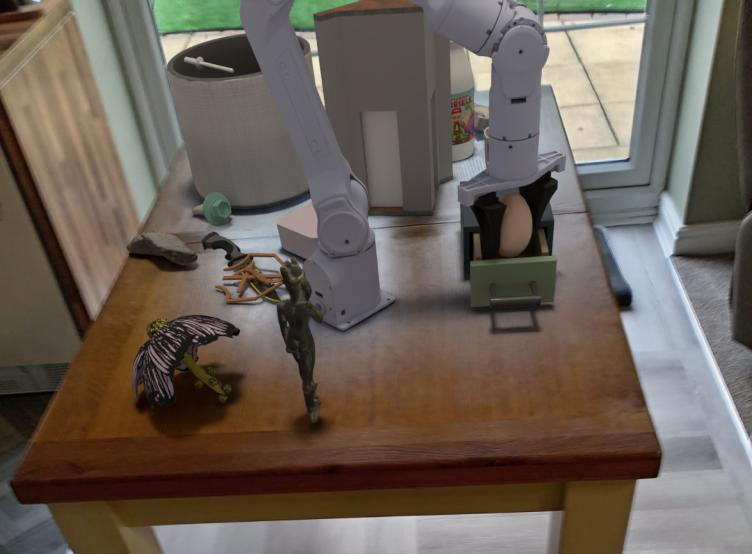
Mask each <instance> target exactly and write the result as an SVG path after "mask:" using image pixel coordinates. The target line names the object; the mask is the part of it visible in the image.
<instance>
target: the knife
mask: <svg viewBox="0 0 752 554" xmlns="http://www.w3.org/2000/svg"><path fill="white" fill-rule="evenodd" d="M201 244H202V248H203V251H206V250H209V249H211V250H214V251H216V250H223V251H225V252H226V254H225V255H224V259H225V260H226V261H227V264H226V265H227V268H228V267H231V266H234V265H236V264H238V263H239V262H241V261H242V260H243V259H245V258H246V257H247V255H248V254H249V253H244V252H242V251H241V248H240V247H239V246H238V245H237V244H236V243H235V242H233V241H232V240H231V239H229V238H227V237H225V236H222V235H220V234H219V233H218V232H217V231H215V230H213V231H211V232H209V233H207V234H206V235H205V236H204V237H203V238H202V239H201ZM253 260H254V257H250V259H249V260H248V261H247V262H246V263H245V264H243V265H242V266H240V267H238V268H236V269H235V270H236V271H239V270H241V269H243V268H245V267H248V266H249V264H250V262H253ZM253 269H254V270H255V271H256V272H257V273H258V274H260V275H263V272H262V271H261V270H260V268H258V266H256V264H254V267H253ZM245 272H246V271H244V272H241V273H240V274H241V275H244V274H245ZM250 275H253V274H252V273H250ZM247 282H248V283H249V284H250V285H251V286H252V287H253V288H254V289H255V291H256V292H258V293H259V294H261V293H262V292H264V291H266V290H267V289H269V288H271V287H272V286H274V285H276V283H265V282H263V281H260V280H259V279H251V280H247ZM262 298H265V299H268V300H269V301H272V302H276V303H277V302H278V303H279V302H280V301H282V299H281V298H280V296H279V294H278V293H277V289H275V290H273V291H271V292H270V293H268V294H266V295H265V296H263V297H262Z"/></svg>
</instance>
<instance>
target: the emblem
mask: <svg viewBox="0 0 752 554" xmlns="http://www.w3.org/2000/svg"><path fill="white" fill-rule="evenodd" d="M247 254H248V255H247V257H246V258H245V259H243V260H242V261H241V262H239V263H238V264H236V265H234V266H231V267H228V266H227V267H225V268H222V271H223V272H229V271H234V270H236V268H238V267H240V266H242V265H243V264H245V263H246V262H247V261H248V260H249V259H250V257H253V258H274V259H275V260H276V261H277V262H278V264H280V266H283V262H284V261H283V259H281V258H280V257H279V256H278V255H277V254H276V253H274V252H273V253H269V252H268V253H267V252H248V253H247ZM255 263H256V262H255V261H252V262H250V264H249V266H248V267H245V268H243V269H241V270H239V271H238V270H236V271H235V273H232V274H231V275H223V276H222V277H221V280H222V281H240V283H239V285H238V287H237V289H236V294H242V292H243V290H244V288H245V286H246V284H247V282H248V280H251V279H259V280H260V281H263V282H265V283H271V284H275V285H274V286H272V287H271V288H269V289H267V290H266V291H264V292H262V293H261V294H260V293H259V294H257V295H255V296H248V297H240V298H239V297H237V298H231V297H232V295H231V292H230V291H229V289H228V288H227V287H226V286H224V285H220V284H217V285H216V284H215V285H214V288H215V289H217V290H221V291H222V292H224V293H225V296H226V299H225V303H226V304H235V303H247V302H257V301H258V300H260V299H261V298H264V297H263V296H265V295H266V294H268V293H270V292H271V291H273V290H277V289H278V288H281V286H284V284H283V282H282V281H281V276H282V275H281V273H270V274H268V273H267V274H266V273H265V274H263V273H262V274H263V275H260V274H258V273H257V272H256V271H255V270H254V269H253V267H254V265H256V264H255ZM244 271H246V272H245V274H244V275H243V274H242V273H241V272H244ZM250 273H252V274H253V275H250ZM239 274H240V275H239Z"/></svg>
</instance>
